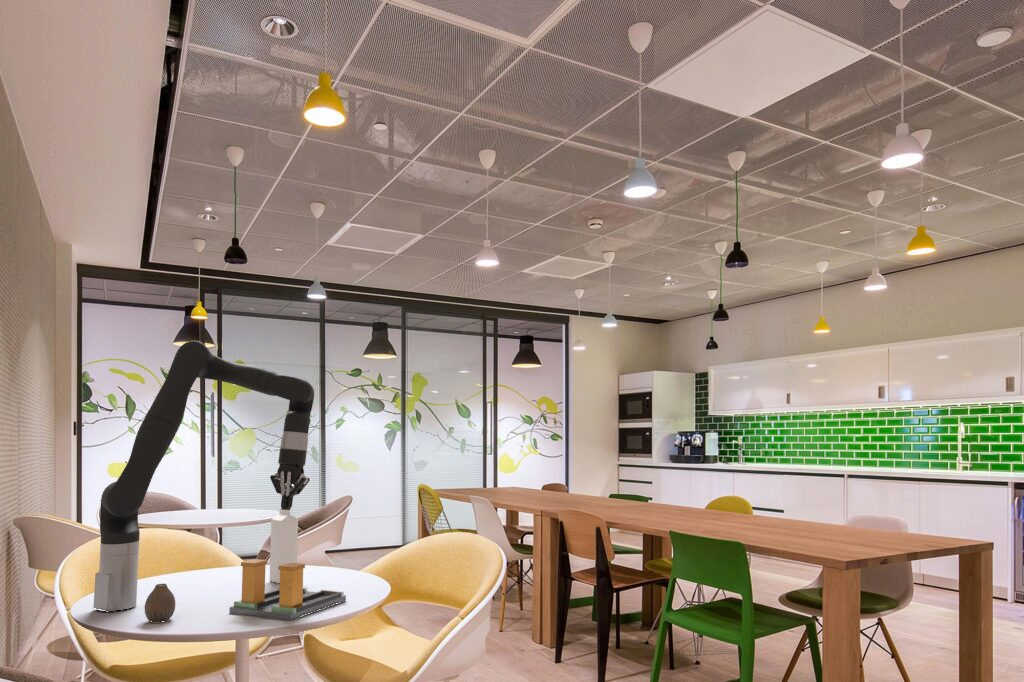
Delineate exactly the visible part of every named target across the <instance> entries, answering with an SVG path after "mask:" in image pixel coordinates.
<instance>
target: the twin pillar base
mask: <svg viewBox="0 0 1024 682" xmlns="http://www.w3.org/2000/svg"><path fill="white" fill-rule="evenodd" d="M305 568H306V563H299V562H297V563H288V564H284V565H280V566H278V570H280V584H279V589H275V590H272V591H268V592H265V601H262V602H259V603H251V602H242V599H241V600H235V601H233V605H232V606H229V612H228V613H229V614H232V613H233V614H234V615H239V616H241V615H242V616H250V617H257V618H265V619H273V620H280V621H287V622H288V621H291V622H292V621H294V619H295V620H297V619H299V618H298V617H300V616H302V615H305V614H308V613H311V612H314V611H317V610H319V609H323V608H325V607H328V606H331V605H333V604H336V603H339V602H342V601H345V600H347V595H345V591H343V590H342V591H341V590H334V589H333V590H331V589H321V590H320V591H319V590H318V591H317V592H316V591H308V588H307V587H304V569H305ZM345 602H346V601H345ZM342 603H343V602H342ZM339 604H340V603H339ZM336 605H337V604H336ZM331 607H332V606H331ZM328 608H329V607H328ZM325 609H326V608H325ZM323 610H324V609H323ZM317 612H318V611H317ZM314 613H315V612H314ZM311 614H312V613H311ZM296 618H297V619H296ZM300 618H301V617H300Z"/></svg>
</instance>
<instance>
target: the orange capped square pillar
mask: <svg viewBox="0 0 1024 682" xmlns="http://www.w3.org/2000/svg"><path fill="white" fill-rule="evenodd" d="M266 565H268V560H266V559H257V558H256V559H255V558H253V559H248V560H243V561H241V562H240V566H241V567H242V571H241V572H242V573H241V574H242V576H241V579H242V580H241V600H242V602H251V603H259V602H262V601H265V593H266V590H265V589H266Z"/></svg>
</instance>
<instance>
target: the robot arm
mask: <svg viewBox="0 0 1024 682" xmlns="http://www.w3.org/2000/svg"><path fill="white" fill-rule="evenodd" d="M197 378H199V379H206V380H213V381H218V382H224V383H227V384H232V385H235V386H239V387H242V388H245V389H248V390H252V391H255V392H258V393H260V394H264V395H268V396H272V397H279V398H281V399H284V400H288V401H289V404H288V410H287V413H286V415H285V416H284V417H285V419H284V424H283V432H282V436H281V440H280V446H279V447H280V448H279V453H278V454H279V455H278V460H277V461H278V462H277V464H279V466H278V468H277V472H276V473H275V474H271V475H270V477H269V478H270V481H271V483H272V485H273V488H274V490H275V492H276V493H277V494H279V495H281V500H280V501H281V502H280V508H281V509H282V510H290V511H291V509H292V506H293V500H294V497H295V496H297V495H300V493H302V491H303V490H304V489H305V488H306V486H307V485H308V483H309V482H310V477H307V476H306V475H305V469H304V467H305V465H306V460H307V453H308V447H309V445H308V444H309V429H310V419H311V412H312V410H313V409H312V408H313V405H314V399H315V389H314V387H313V385H312V384H311V383H310V382H308V381H307V380H305V379H303V378H300V377H296V376H291V375H286V374H282V373H279V372H277V371H273V370H271V369H267V368H264V367H260V366H257V365H252V364H250V365H249V364H243V363H242V364H241V363H236V362H232V361H229V360H226V359H224V358H221V357H219V356H217V355H215V354H213V353H212V352H211V351H210V349H209V348H208V347H207V346H206V345H205V344H204V343H203V342H201V341H199V340H190V341H187V342H185V343H183V344H182V345H180V347H178V349H177V351H176V352H175V355H174V357H173V360H172V362H171V365H170V367H169V371H168V373H167V376H166V378H165V380H164V382H163V385H162V386H161V387H160V389H159V391H158V392H157V394H156V396H155V398H154V400H153V402H152V404H151V406H150V407H149V409H148V411H147V413H146V415H145V416H144V418H143V420H142V422H141V424H140V426H139V428H138V431H137V432H136V435H135V438H134V442H133V446H132V449H131V453H130V456H129V458H128V461H127V463H126V465H125V467H124V469H123V470H122V472H121V474H120V475H119V477H117V480H116V481H113V482H112V483H110V484H108V485H107V486H106V487H105V488H104V490H103V492H102V494H101V497H100V511H99V512H100V514H99V517H100V519H99V533H100V545H99V546H100V547H99V549H100V551H99V564H98V565H99V566H98V567H99V568H98V571H97V572H96V573H95V575H94V577H95V578H94V590H93V591H94V593H93V609H94V608H96V609H101V610H105V611H113V612H115V611H114V610H121V611H124V610H123V609H127V610H130V609H129V608H131V609H133V608H136V606H137V600H138V598H137V597H138V576H139V573H138V572H139V549H140V536H141V535H140V531H141V530H140V526H139V510H140V508H141V507H142V505H143V503H144V500H145V498H146V494H147V493H148V489H149V486H150V484H151V482H152V479H153V477H154V476H155V475H154V474H155V472H156V470H157V468H158V466H159V465H160V463H161V461H162V460H163V458H164V456H165V454H166V453H167V451H168V449H169V448H170V446H171V444H172V442H173V441H174V439H175V436H176V435H177V433H178V430H179V429H180V426H181V424H182V421H183V419H184V416H185V412H186V411H185V410H186V406H187V401H188V398H189V394H190V391H191V389H192V387H193V386H194V383H195V381H196V380H197ZM132 607H133V608H132Z"/></svg>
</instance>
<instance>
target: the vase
mask: <svg viewBox="0 0 1024 682" xmlns="http://www.w3.org/2000/svg"><path fill="white" fill-rule="evenodd" d="M175 611H176V597H175V595H174V593H173V592H172V591H171V590H170V588H169V587H168V585H167V583H158V584H155V586H154V588H153V589H152V591H151V592H150V593H149V595H148V596H147V598H146V600H145V603H144V614H145V617H146V619H147V620H148V622H150V621H152V622H161V623H163V622H162V621H166V622H168V621H169V620H170V619H171V618H172V616H173V615H174V613H175ZM167 620H168V621H167ZM152 622H151V623H152Z"/></svg>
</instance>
